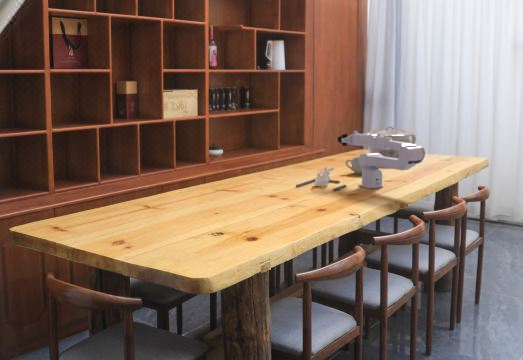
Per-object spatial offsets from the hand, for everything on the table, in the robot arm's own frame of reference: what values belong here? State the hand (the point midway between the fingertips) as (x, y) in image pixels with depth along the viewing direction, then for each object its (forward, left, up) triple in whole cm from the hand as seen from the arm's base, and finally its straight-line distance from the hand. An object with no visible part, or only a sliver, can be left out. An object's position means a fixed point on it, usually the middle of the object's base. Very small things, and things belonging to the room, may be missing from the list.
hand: (344, 138), depth 322 cm
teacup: (+12, -19, -21) cm, 30 cm away
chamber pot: (+38, -61, -21) cm, 75 cm away
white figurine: (-8, +16, -21) cm, 28 cm away
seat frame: (-8, +16, -21) cm, 28 cm away
